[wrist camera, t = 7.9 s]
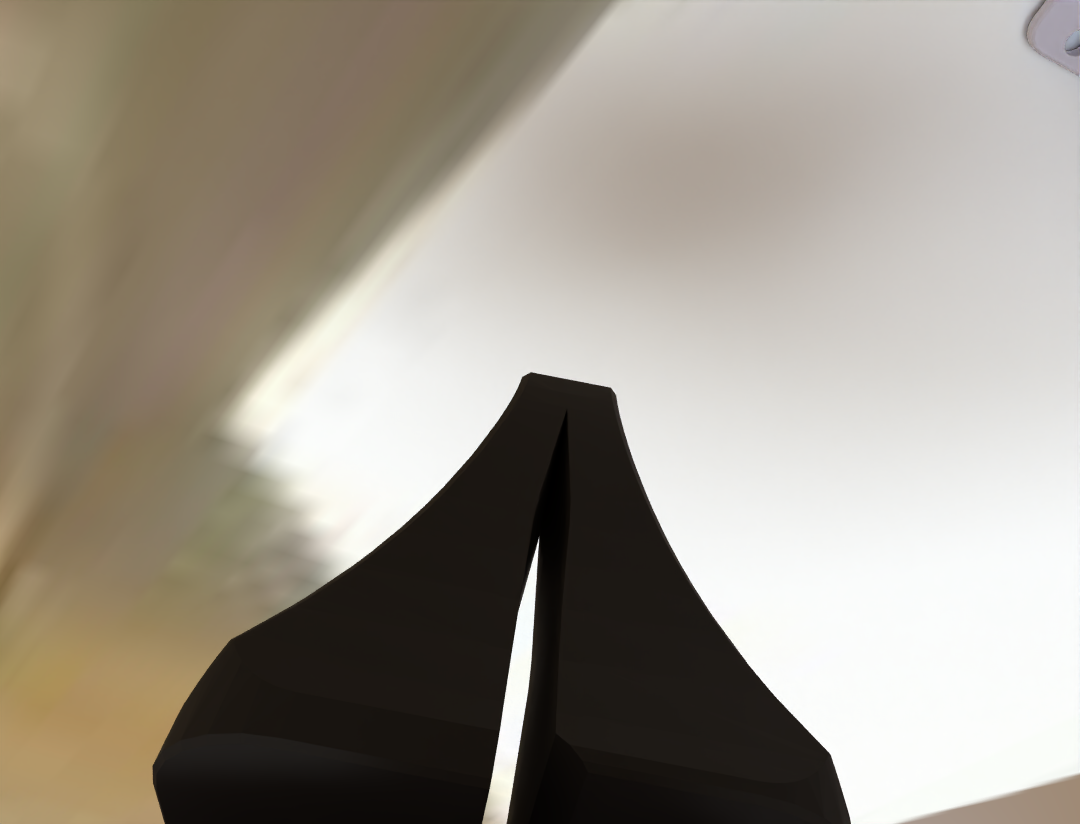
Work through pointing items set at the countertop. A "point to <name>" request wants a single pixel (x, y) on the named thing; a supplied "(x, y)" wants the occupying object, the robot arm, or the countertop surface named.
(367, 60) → the countertop surface
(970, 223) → the countertop surface
